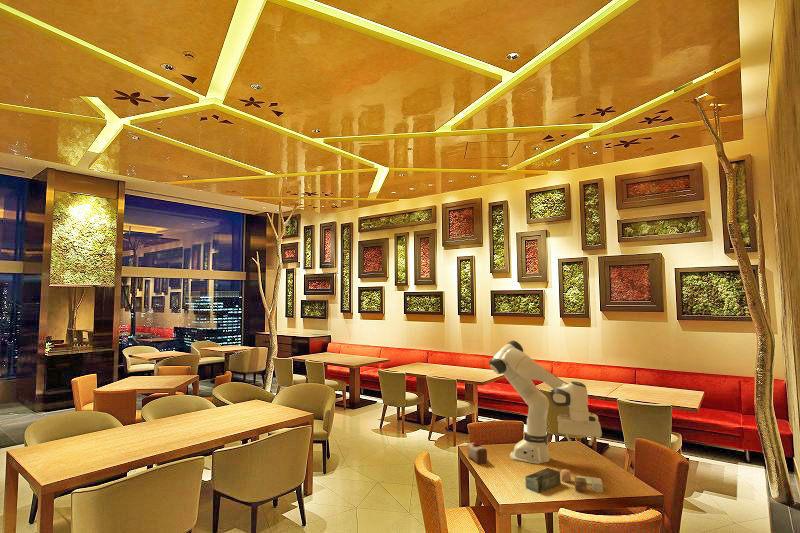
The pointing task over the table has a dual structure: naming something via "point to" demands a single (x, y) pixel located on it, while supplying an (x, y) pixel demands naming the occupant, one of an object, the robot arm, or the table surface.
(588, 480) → the green tile
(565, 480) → the brown egg
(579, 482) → the walnut cube
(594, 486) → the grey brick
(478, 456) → the grey canister red cap
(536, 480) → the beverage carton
